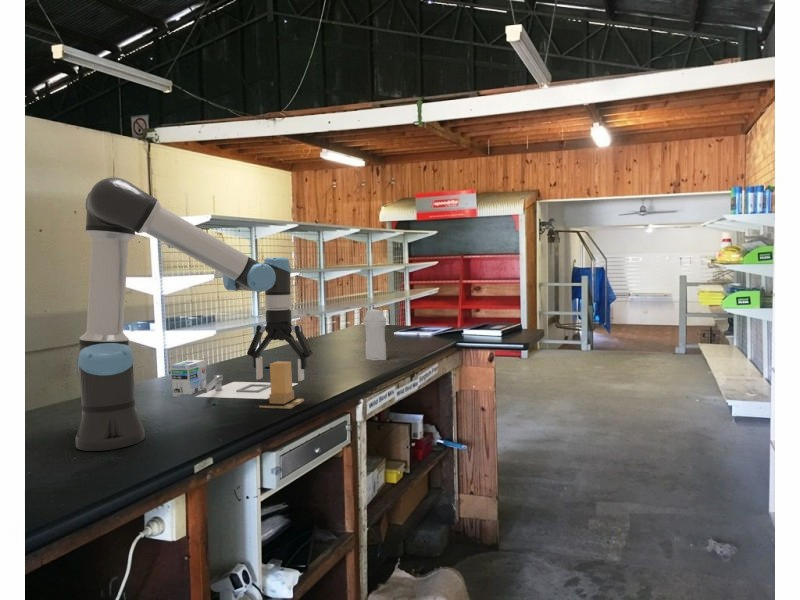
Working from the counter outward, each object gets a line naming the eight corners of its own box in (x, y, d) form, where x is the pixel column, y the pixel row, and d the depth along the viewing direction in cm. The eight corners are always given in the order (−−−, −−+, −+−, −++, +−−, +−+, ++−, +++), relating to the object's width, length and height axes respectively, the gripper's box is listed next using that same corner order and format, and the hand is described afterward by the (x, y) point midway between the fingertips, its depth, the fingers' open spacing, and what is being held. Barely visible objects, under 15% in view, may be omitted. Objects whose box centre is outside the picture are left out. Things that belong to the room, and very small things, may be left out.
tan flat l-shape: (290, 408, 175) (290, 406, 175) (259, 407, 178) (259, 405, 178) (304, 400, 185) (304, 398, 185) (274, 399, 188) (274, 397, 188)
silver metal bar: (199, 393, 179) (199, 388, 179) (214, 379, 201) (214, 375, 201) (210, 393, 180) (209, 387, 179) (223, 379, 201) (223, 374, 201)
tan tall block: (284, 405, 178) (282, 364, 177) (269, 404, 179) (268, 364, 178) (294, 399, 184) (292, 360, 184) (279, 399, 186) (278, 360, 185)
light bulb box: (190, 397, 195) (189, 364, 194) (171, 397, 196) (170, 364, 195) (207, 390, 205) (206, 359, 204) (189, 390, 206) (188, 359, 206)
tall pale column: (389, 359, 262) (387, 309, 260) (385, 360, 258) (383, 309, 256) (367, 358, 266) (365, 308, 264) (363, 360, 262) (361, 309, 261)
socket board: (267, 402, 185) (266, 388, 185) (195, 399, 191) (194, 387, 191) (298, 386, 208) (298, 374, 208) (233, 384, 214) (233, 373, 214)
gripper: (322, 308, 180) (323, 378, 182) (246, 308, 186) (248, 375, 188) (312, 310, 173) (314, 383, 174) (234, 309, 179) (236, 380, 180)
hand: (280, 379), depth 181 cm, fingers open, 13 cm apart
